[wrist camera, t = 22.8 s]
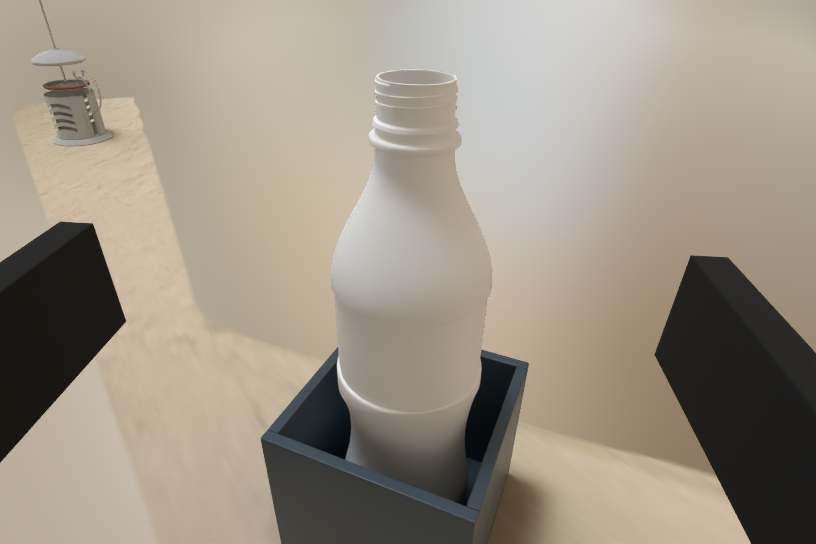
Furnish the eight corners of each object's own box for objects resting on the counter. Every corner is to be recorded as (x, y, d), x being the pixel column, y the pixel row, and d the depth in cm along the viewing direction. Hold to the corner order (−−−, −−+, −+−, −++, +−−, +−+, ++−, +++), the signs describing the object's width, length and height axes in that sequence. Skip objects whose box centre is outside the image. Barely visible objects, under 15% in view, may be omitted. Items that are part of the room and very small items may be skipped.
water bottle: (397, 437, 36) (401, 54, 23) (485, 495, 32) (551, 76, 19) (322, 511, 31) (272, 77, 18) (416, 589, 27) (440, 112, 14)
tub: (458, 637, 26) (475, 523, 21) (282, 553, 29) (260, 438, 24) (508, 472, 34) (529, 362, 29) (367, 422, 38) (363, 316, 33)
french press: (88, 127, 100) (43, -18, 87) (131, 135, 97) (91, -16, 84) (40, 141, 93) (-17, -16, 80) (85, 150, 89) (33, -14, 76)
